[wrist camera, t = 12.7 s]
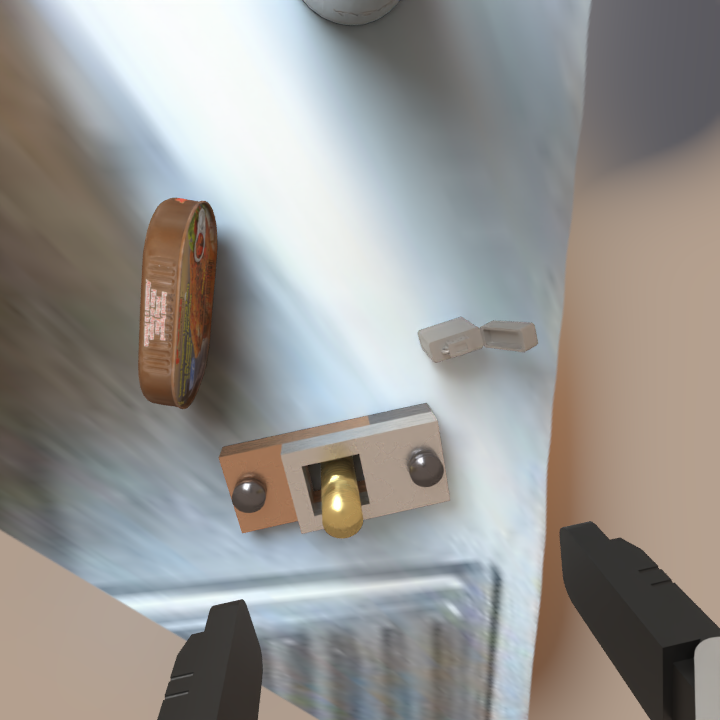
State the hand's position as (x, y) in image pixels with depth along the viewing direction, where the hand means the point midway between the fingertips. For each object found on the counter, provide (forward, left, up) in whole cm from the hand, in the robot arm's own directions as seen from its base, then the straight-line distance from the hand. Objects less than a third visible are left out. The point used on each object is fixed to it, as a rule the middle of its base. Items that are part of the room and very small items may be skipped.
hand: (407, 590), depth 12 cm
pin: (+12, -3, -30) cm, 32 cm away
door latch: (+12, -3, -30) cm, 32 cm away
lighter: (+2, +10, -30) cm, 32 cm away
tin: (-5, -11, -30) cm, 33 cm away
